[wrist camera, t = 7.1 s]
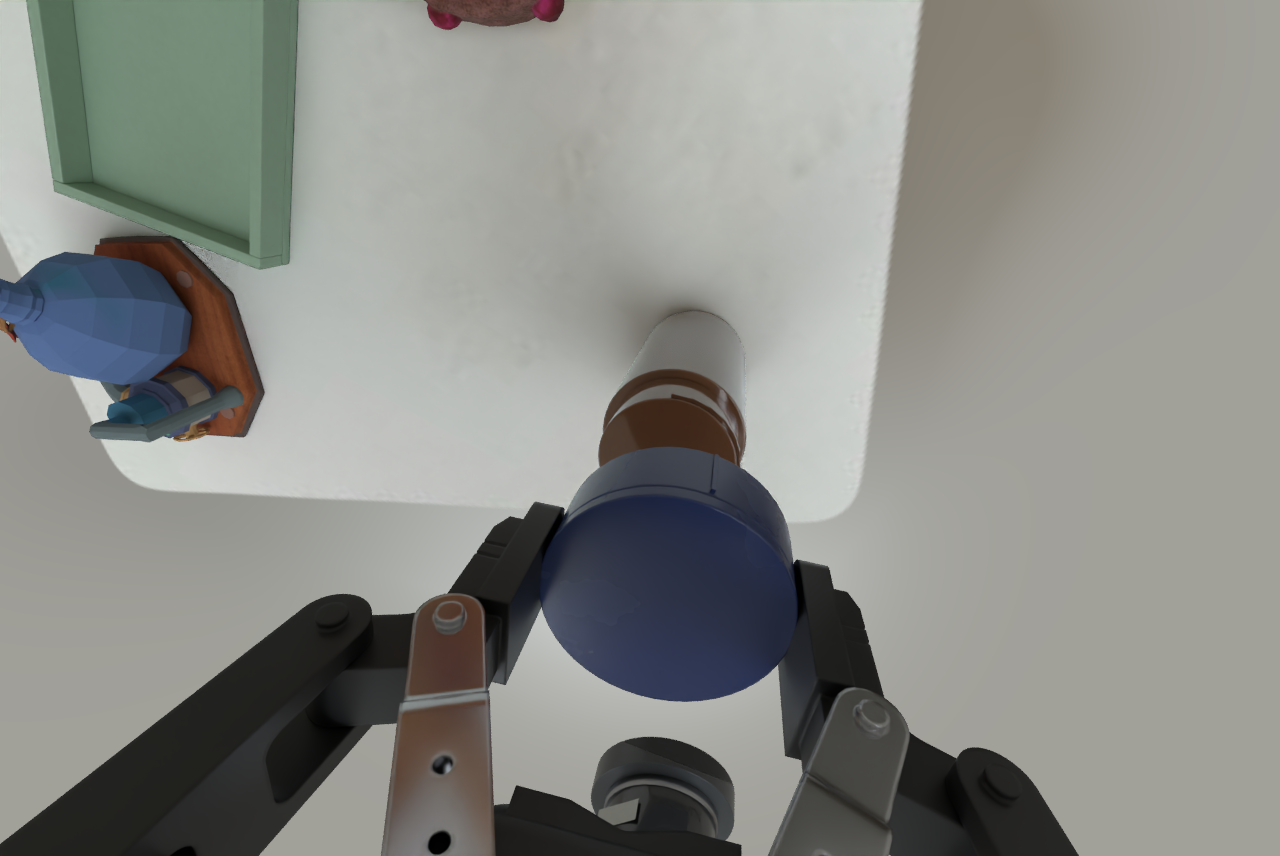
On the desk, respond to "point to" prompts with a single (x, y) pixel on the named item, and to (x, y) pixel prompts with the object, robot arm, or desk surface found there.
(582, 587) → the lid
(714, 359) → the jar
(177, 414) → the model
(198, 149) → the tray
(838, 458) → the desk surface
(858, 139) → the desk surface
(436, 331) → the desk surface
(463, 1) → the mug
